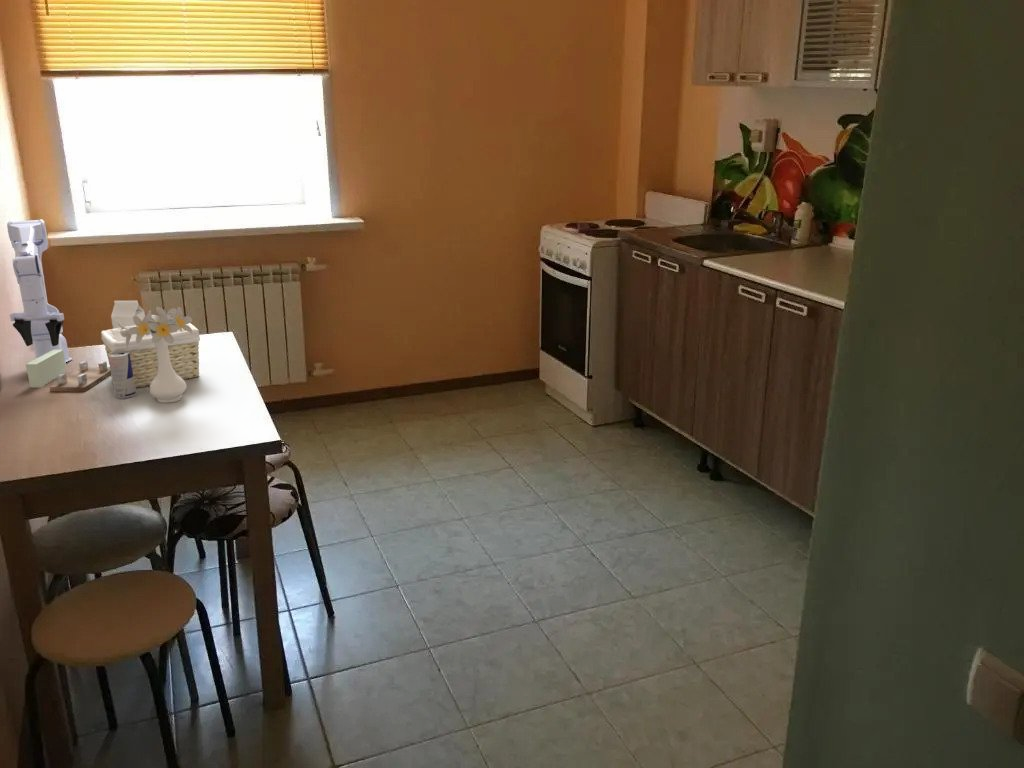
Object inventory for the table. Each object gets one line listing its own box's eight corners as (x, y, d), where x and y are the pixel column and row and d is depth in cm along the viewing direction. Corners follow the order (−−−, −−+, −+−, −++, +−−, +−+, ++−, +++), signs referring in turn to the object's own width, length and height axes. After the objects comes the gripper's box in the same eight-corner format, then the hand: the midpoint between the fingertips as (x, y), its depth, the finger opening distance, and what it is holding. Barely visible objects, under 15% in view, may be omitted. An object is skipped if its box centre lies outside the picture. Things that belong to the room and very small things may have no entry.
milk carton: (142, 364, 262) (132, 303, 255) (118, 364, 262) (108, 303, 256) (151, 357, 268) (142, 297, 262) (128, 357, 269) (119, 298, 262)
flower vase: (125, 400, 232) (111, 310, 224) (195, 386, 242) (183, 300, 234) (136, 414, 222) (121, 321, 214) (209, 400, 232) (197, 310, 223)
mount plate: (83, 370, 256) (83, 366, 256) (116, 370, 256) (115, 367, 255) (50, 391, 239) (49, 387, 239) (85, 391, 239) (84, 387, 238)
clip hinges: (84, 368, 254) (83, 360, 253) (107, 369, 254) (106, 361, 253) (58, 384, 241) (57, 376, 240) (82, 385, 240) (81, 376, 240)
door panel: (57, 372, 256) (53, 349, 253) (67, 372, 256) (63, 349, 253) (30, 387, 243) (25, 364, 240) (40, 387, 242) (36, 364, 240)
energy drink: (140, 392, 238) (133, 351, 234) (130, 399, 233) (123, 357, 229) (121, 392, 238) (114, 350, 234) (111, 398, 233) (103, 356, 229)
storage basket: (191, 363, 262) (184, 316, 257) (207, 377, 250) (200, 328, 245) (107, 378, 249) (98, 329, 244) (119, 394, 237) (110, 343, 232)
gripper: (-1, 301, 238) (9, 349, 242) (50, 301, 237) (59, 349, 241) (14, 296, 244) (24, 342, 249) (64, 296, 243) (73, 342, 248)
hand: (42, 345), depth 245 cm, fingers open, 7 cm apart
